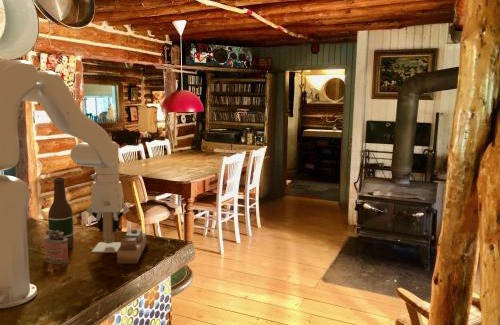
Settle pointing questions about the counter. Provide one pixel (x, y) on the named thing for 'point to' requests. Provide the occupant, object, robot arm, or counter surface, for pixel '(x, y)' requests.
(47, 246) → the lighter
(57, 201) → the brown glass bottle
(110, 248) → the felt pad
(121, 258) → the body
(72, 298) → the counter surface
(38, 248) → the counter surface
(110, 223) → the handle
